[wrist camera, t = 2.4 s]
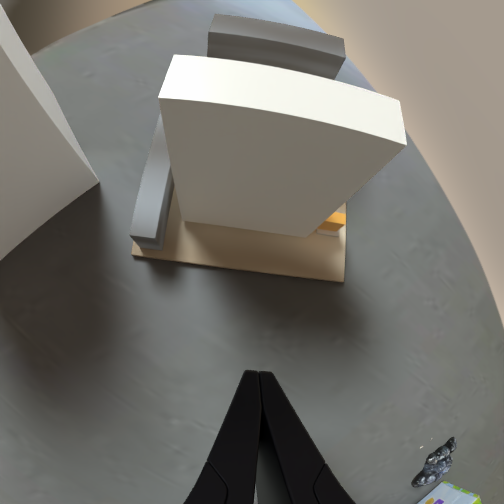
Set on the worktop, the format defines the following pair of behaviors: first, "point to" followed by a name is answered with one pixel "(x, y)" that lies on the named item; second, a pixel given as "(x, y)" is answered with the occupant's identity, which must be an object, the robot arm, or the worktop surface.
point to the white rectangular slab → (271, 144)
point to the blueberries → (436, 464)
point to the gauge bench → (229, 238)
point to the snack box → (450, 495)
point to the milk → (33, 147)
